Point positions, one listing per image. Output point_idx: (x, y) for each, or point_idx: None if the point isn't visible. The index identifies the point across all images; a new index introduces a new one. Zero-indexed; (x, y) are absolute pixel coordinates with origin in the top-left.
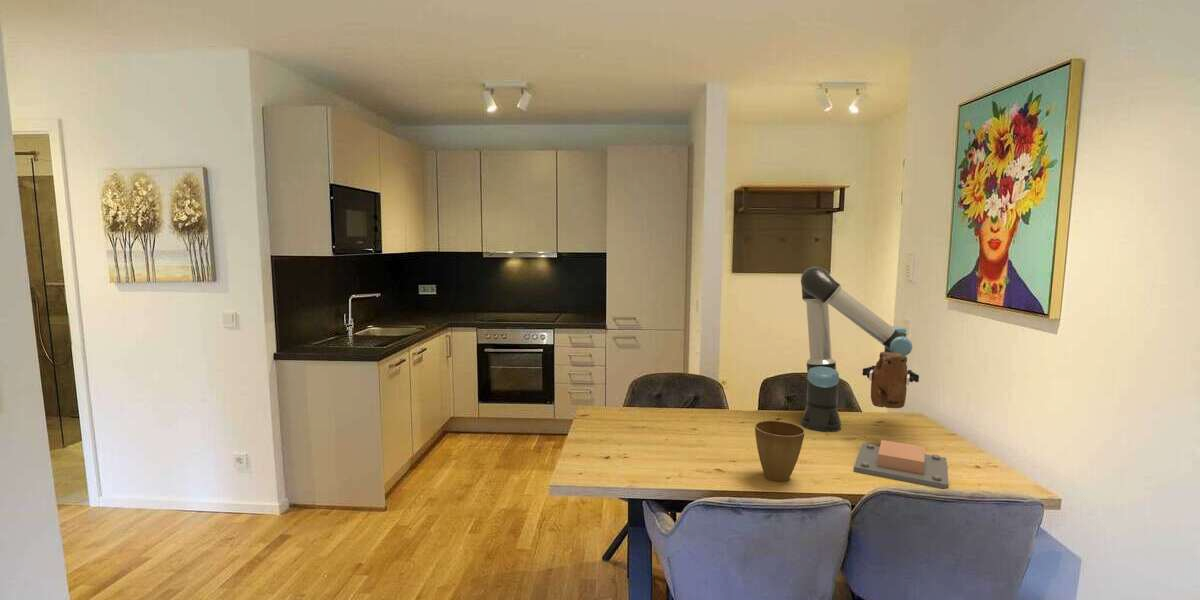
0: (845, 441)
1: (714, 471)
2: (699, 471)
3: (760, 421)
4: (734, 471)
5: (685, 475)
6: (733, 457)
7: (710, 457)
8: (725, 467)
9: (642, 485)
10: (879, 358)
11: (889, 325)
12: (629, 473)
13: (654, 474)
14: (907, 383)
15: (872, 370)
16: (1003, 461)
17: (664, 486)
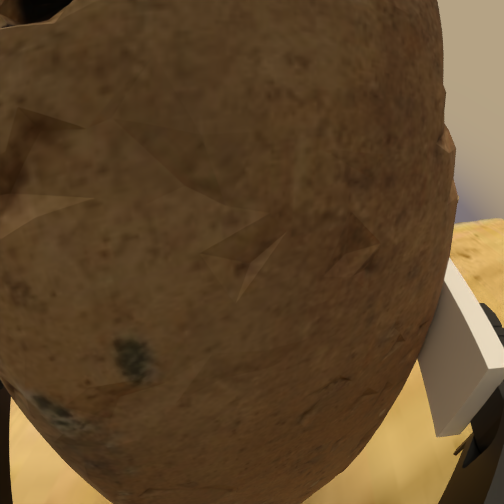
0: (378, 481)
1: (464, 252)
2: (473, 249)
3: (458, 197)
4: (452, 257)
5: (472, 240)
6: (485, 286)
7: (498, 277)
8: (466, 262)
9: (473, 224)
10: (437, 69)
11: None
12: (498, 235)
13: (487, 237)
14: None
15: (483, 341)
16: None
17: (463, 225)
